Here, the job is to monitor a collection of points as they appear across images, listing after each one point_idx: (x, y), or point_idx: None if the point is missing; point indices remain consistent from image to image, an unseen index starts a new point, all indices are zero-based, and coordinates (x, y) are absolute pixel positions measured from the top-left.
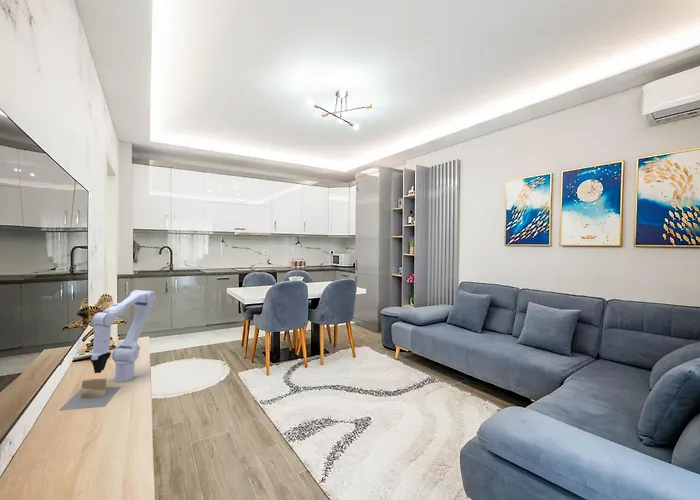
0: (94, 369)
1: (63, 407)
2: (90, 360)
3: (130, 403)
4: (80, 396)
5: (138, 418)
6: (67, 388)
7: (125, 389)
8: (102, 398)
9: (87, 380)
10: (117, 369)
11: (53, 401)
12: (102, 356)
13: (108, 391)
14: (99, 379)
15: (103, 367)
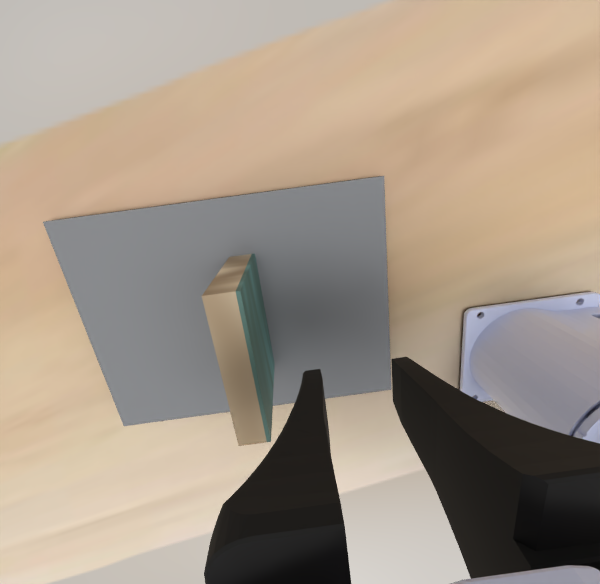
0: (299, 395)
1: (87, 228)
2: (228, 499)
3: (193, 488)
4: (255, 240)
5: (56, 557)
6: (452, 41)
7: (369, 408)
8: None
9: (222, 328)
10: (544, 384)
11: (211, 83)
12: (488, 545)
13: (324, 358)
14: (247, 405)
15: (403, 419)
